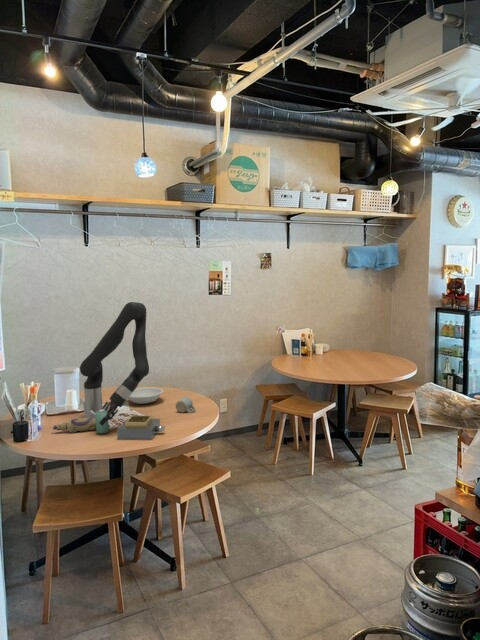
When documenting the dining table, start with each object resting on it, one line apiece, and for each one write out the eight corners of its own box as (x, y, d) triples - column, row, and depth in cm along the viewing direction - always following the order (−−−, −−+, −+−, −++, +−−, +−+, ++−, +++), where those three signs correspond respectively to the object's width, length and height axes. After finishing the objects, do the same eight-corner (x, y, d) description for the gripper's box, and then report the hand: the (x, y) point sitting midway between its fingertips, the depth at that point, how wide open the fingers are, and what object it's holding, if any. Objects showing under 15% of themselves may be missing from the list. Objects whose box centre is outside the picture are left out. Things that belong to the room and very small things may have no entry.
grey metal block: (117, 439, 225) (116, 424, 224) (127, 428, 241) (127, 414, 240) (160, 439, 224) (159, 424, 223) (167, 428, 239) (167, 414, 239)
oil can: (106, 428, 239) (105, 406, 238) (110, 431, 234) (109, 408, 233) (89, 432, 234) (88, 409, 233) (92, 435, 229) (91, 412, 228)
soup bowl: (171, 400, 292) (171, 389, 292) (144, 410, 272) (144, 399, 272) (143, 395, 305) (143, 385, 305) (115, 404, 285) (115, 394, 284)
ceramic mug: (174, 412, 266) (174, 399, 265) (181, 408, 274) (181, 395, 273) (191, 414, 263) (191, 401, 262) (197, 410, 270) (197, 397, 269)
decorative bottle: (106, 425, 246) (105, 413, 245) (105, 430, 239) (105, 418, 238) (54, 431, 240) (53, 418, 239) (52, 436, 232) (51, 423, 232)
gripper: (111, 388, 243) (89, 414, 237) (120, 394, 231) (97, 422, 225) (121, 396, 246) (100, 423, 241) (131, 403, 234) (108, 430, 229)
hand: (98, 422), depth 233 cm, fingers closed on oil can, 6 cm apart
